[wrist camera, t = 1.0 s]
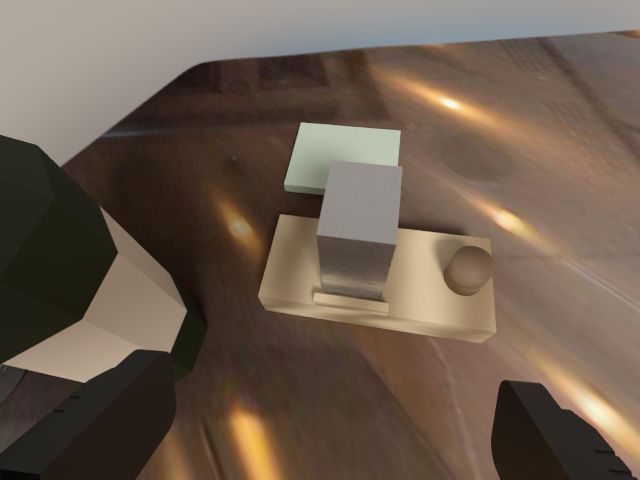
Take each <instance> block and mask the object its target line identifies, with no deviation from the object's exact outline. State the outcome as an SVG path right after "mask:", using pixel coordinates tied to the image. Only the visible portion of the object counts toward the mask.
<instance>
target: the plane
mask: <svg viewBox="0 0 640 480" xmlns="http://www.w3.org/2000/svg"><path fill="white" fill-rule="evenodd" d="M318 224H319V219H316V218H308V217H299V216H290V215H282V214H280V217H279V221H278V224H277V228H276V232H275V235H274V239H273V243H272V246H271V250H270V254H269V257H268V261H267V265H266V269H265V272H264V276H263V280H262V283H261V287H260V291H259V294H258V298H259V299H260V301H261V303H262V305H263V306H264V308H265V310H268V311H274V312H281V313H287V314H294V315H300V316H306V317H313V318H319V319H326V320H332V321H339V322H345V323H352V324H358V325H365V326H371V327H378V328H384V329H391V330H397V331H404V332H410V333H417V334H423V335H430V336H436V337H443V338H449V339H456V340H462V341H469V342H475V343H482V342H483V341H484V340H486V339H487V338H489V337H490V336H492V335H493V334H494V333H496V322H495V307H494V292H493V278H492V276H493V274H494V272H495V262H494V260H493V258H492V256H491V248H490V239H486V238H478V237H469V236H461V235H452V234H444V233H435V232H427V231H418V230H410V229H401V228H398V232H397V244H396V248H395V252H394V255H393V259H392V262H391V266H390V269H389V273H388V277H387V280H386V284H385V287H384V291H383V294H382V298H381V301H379V300H372V299H365V298H358V297H351V296H345V295H338V294H331V293H324V292H323V286H322V278H321V270H320V261H319V253H318V245H317V237H316V234H317V229H318Z"/></svg>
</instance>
